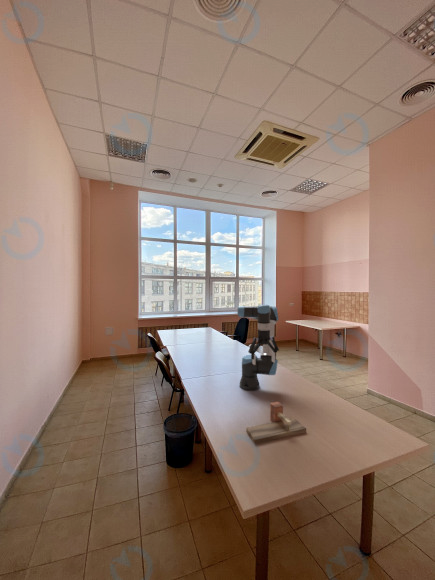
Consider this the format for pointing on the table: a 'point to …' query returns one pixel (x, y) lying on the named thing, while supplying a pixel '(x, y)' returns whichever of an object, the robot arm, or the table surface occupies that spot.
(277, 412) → the mallet
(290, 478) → the table surface
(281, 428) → the board
